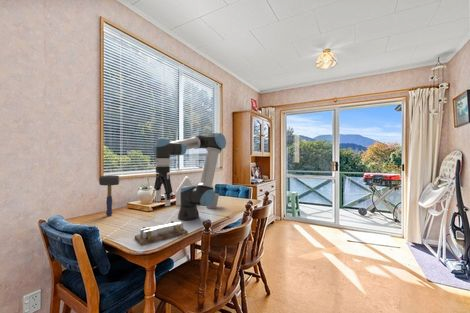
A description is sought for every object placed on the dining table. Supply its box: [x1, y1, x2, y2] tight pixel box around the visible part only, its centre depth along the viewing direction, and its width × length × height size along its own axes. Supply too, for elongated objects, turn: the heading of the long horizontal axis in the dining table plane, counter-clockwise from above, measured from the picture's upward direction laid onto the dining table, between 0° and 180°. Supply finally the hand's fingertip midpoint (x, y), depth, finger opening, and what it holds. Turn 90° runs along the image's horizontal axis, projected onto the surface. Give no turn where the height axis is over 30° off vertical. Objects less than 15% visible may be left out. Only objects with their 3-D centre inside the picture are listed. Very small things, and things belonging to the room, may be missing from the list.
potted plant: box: [205, 189, 220, 210], centre depth 190 cm, size 13×14×20 cm
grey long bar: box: [139, 221, 184, 240], centre depth 122 cm, size 23×6×4 cm, turn 131°
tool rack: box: [134, 220, 189, 246], centre depth 122 cm, size 26×12×6 cm, turn 130°
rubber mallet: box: [98, 175, 120, 217], centre depth 161 cm, size 12×8×30 cm, turn 109°
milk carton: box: [175, 175, 195, 207], centre depth 205 cm, size 19×15×25 cm
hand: (162, 203), depth 122 cm, fingers open, 13 cm apart
